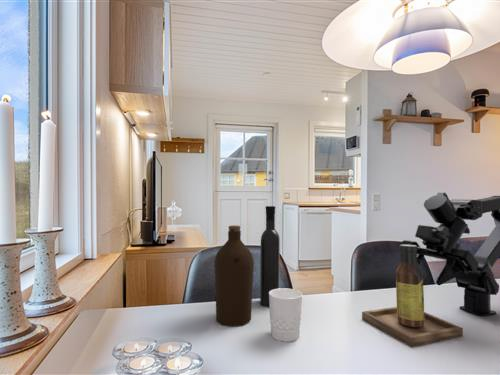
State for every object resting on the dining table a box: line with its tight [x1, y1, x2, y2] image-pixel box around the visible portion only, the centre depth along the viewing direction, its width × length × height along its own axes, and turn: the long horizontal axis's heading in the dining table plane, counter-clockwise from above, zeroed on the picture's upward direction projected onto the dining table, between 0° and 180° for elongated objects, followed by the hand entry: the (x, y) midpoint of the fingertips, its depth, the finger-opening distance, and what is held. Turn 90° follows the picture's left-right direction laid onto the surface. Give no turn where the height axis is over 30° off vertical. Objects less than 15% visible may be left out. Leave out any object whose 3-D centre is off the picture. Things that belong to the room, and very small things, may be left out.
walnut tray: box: [361, 306, 464, 348], centre depth 77 cm, size 16×16×2 cm
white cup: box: [268, 287, 303, 343], centre depth 72 cm, size 8×8×10 cm
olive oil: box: [213, 225, 255, 327], centre depth 82 cm, size 11×11×25 cm
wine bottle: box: [259, 205, 281, 307], centre depth 94 cm, size 6×6×30 cm
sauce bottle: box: [395, 244, 425, 328], centre depth 78 cm, size 7×6×20 cm
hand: (420, 279), depth 79 cm, fingers open, 9 cm apart
